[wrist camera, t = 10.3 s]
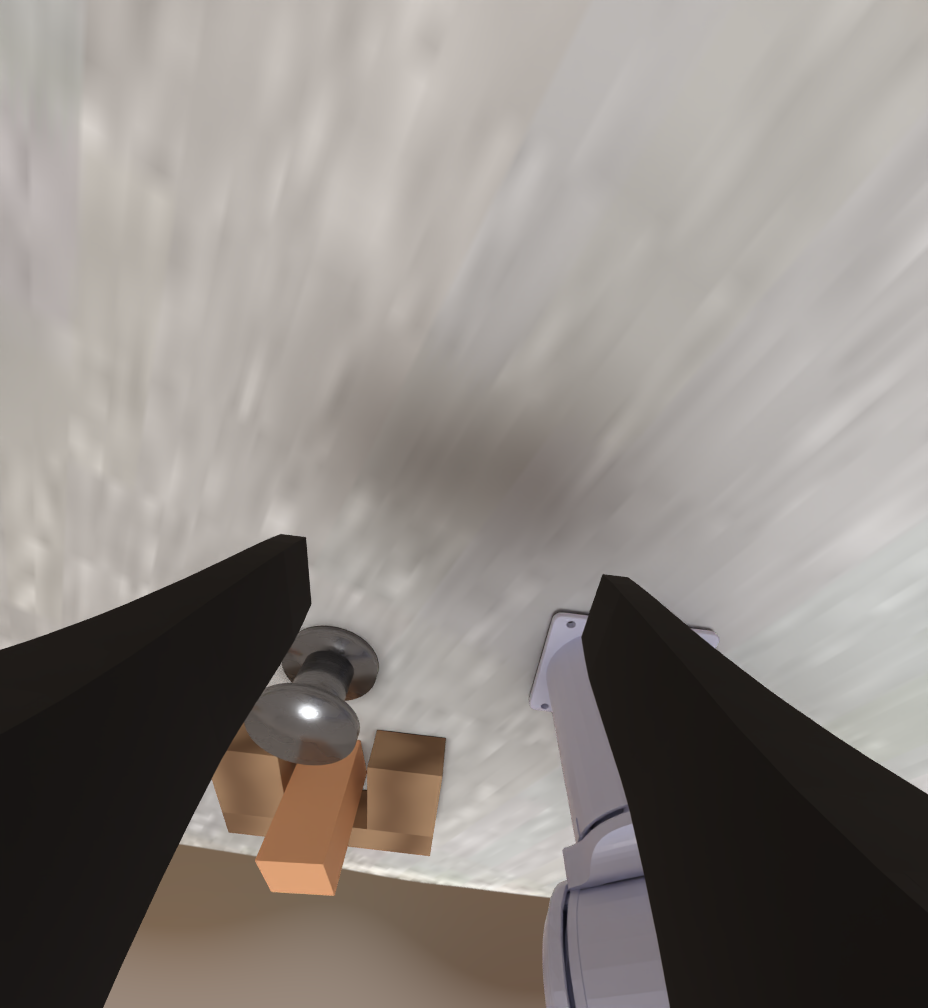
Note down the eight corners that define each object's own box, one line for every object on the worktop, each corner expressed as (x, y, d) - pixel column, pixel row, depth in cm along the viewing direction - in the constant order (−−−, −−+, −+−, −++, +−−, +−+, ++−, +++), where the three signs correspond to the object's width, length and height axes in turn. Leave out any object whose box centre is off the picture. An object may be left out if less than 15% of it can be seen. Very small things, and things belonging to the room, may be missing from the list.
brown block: (360, 740, 27) (323, 864, 21) (366, 772, 29) (334, 895, 23) (307, 738, 27) (254, 860, 21) (317, 769, 29) (271, 891, 23)
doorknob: (379, 632, 22) (355, 701, 18) (377, 698, 25) (357, 771, 21) (281, 620, 22) (235, 686, 18) (290, 687, 25) (252, 758, 21)
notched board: (445, 738, 27) (442, 776, 24) (433, 818, 31) (429, 856, 29) (225, 711, 26) (201, 747, 24) (247, 796, 31) (228, 832, 29)
